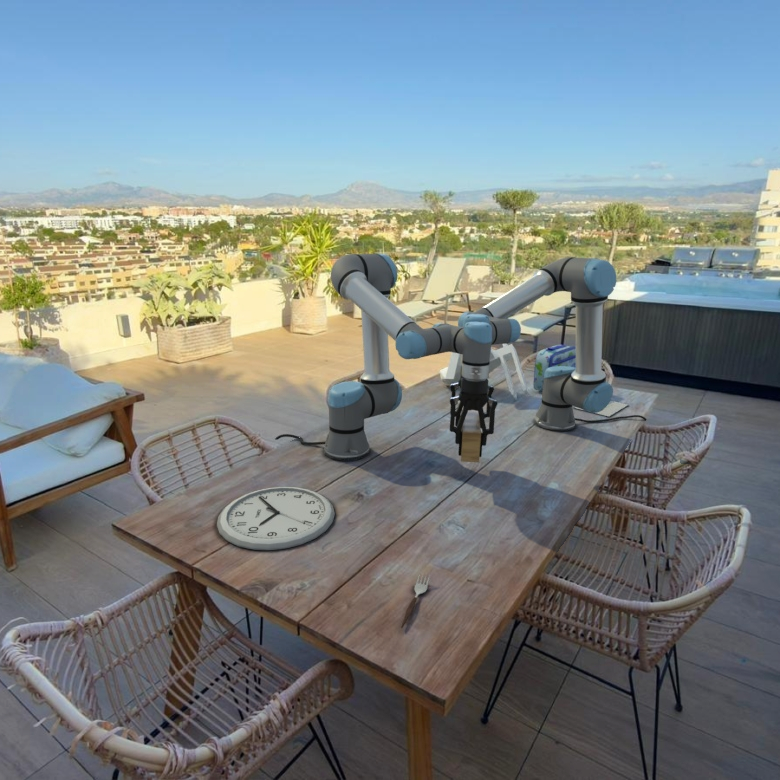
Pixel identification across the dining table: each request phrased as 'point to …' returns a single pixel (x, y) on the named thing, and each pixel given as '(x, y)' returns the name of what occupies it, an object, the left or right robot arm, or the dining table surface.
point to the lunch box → (552, 361)
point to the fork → (419, 589)
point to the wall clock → (275, 518)
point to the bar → (471, 437)
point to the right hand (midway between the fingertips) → (468, 436)
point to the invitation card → (610, 408)
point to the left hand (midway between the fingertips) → (469, 454)
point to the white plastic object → (496, 358)
